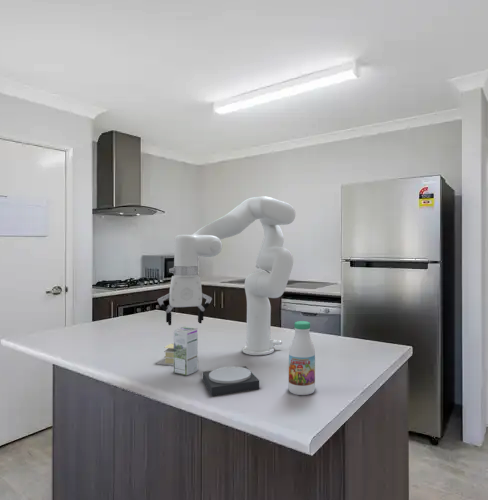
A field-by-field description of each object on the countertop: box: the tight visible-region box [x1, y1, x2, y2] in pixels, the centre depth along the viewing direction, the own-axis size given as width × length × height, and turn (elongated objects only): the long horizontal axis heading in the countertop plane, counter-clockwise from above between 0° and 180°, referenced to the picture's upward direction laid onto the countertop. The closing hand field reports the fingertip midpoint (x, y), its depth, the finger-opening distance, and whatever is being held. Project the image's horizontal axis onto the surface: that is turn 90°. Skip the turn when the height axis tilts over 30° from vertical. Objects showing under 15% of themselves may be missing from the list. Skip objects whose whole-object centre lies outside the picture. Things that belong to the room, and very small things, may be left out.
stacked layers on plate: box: [156, 342, 174, 366], centre depth 134 cm, size 10×9×6 cm
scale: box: [202, 365, 260, 397], centre depth 112 cm, size 14×14×3 cm
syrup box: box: [173, 326, 199, 376], centre depth 122 cm, size 6×6×14 cm
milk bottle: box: [288, 320, 316, 396], centre depth 107 cm, size 8×8×20 cm
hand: (184, 323), depth 121 cm, fingers open, 9 cm apart
